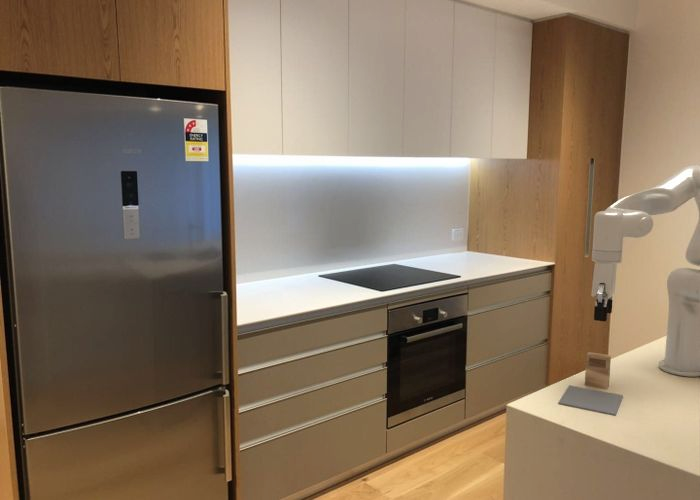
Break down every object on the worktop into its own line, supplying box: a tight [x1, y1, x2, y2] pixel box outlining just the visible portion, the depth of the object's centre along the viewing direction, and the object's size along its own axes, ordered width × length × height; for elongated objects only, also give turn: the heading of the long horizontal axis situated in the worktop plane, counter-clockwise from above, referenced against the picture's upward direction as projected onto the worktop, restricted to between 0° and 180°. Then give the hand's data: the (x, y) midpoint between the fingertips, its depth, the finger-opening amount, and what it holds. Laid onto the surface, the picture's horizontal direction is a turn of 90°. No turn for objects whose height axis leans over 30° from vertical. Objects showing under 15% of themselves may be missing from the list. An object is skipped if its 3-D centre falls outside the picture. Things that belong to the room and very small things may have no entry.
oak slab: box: [584, 351, 612, 390], centre depth 167 cm, size 3×6×9 cm, turn 58°
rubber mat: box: [557, 384, 624, 416], centre depth 157 cm, size 14×14×1 cm
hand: (602, 316), depth 164 cm, fingers open, 9 cm apart
